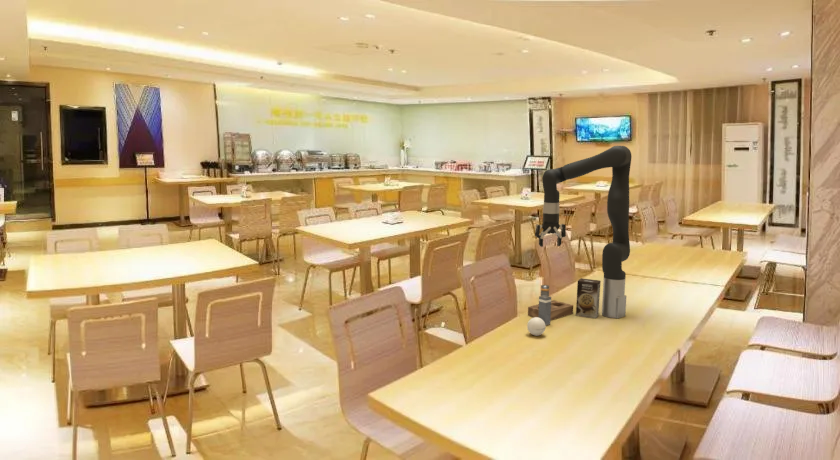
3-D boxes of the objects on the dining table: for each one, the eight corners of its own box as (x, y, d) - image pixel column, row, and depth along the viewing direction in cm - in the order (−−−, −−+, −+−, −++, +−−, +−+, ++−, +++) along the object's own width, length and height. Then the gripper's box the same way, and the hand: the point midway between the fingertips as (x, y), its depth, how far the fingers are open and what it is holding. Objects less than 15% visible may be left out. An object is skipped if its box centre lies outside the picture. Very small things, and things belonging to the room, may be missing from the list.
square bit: (550, 324, 256) (551, 296, 254) (544, 325, 254) (545, 298, 252) (543, 322, 259) (544, 295, 257) (538, 323, 257) (538, 296, 255)
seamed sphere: (531, 339, 237) (532, 321, 236) (523, 333, 244) (524, 315, 243) (554, 336, 240) (555, 319, 239) (546, 331, 247) (546, 313, 246)
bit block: (572, 313, 271) (573, 305, 271) (547, 321, 260) (547, 312, 259) (553, 308, 280) (553, 300, 279) (527, 315, 268) (528, 306, 268)
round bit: (549, 316, 267) (551, 286, 265) (544, 318, 265) (545, 287, 262) (543, 314, 270) (544, 284, 268) (538, 316, 267) (539, 285, 265)
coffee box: (575, 315, 268) (576, 280, 266) (578, 312, 274) (580, 277, 271) (596, 318, 264) (597, 283, 262) (599, 315, 270) (600, 279, 267)
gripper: (562, 210, 285) (561, 244, 288) (533, 211, 283) (532, 245, 285) (568, 212, 278) (567, 247, 280) (539, 213, 276) (538, 248, 278)
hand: (549, 246), depth 283 cm, fingers open, 8 cm apart
